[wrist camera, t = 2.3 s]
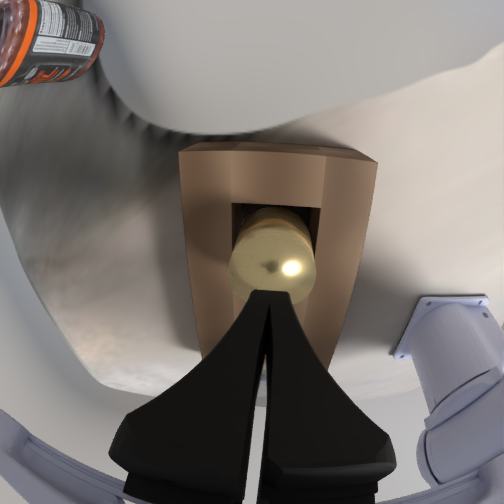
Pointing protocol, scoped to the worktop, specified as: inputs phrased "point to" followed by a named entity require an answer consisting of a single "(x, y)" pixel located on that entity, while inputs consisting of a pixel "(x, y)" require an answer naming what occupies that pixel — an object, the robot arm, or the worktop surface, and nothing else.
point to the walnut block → (277, 193)
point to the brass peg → (273, 255)
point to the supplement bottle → (46, 41)
